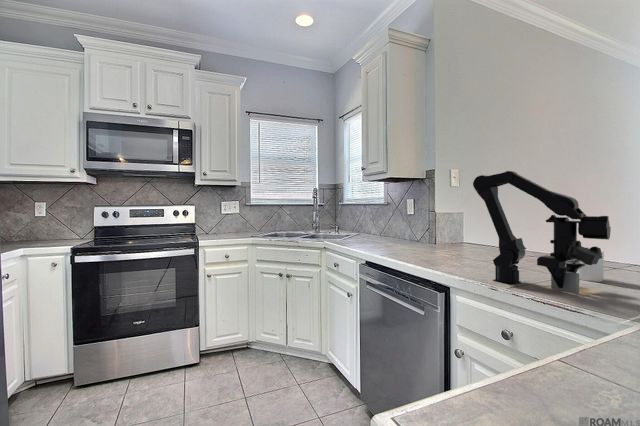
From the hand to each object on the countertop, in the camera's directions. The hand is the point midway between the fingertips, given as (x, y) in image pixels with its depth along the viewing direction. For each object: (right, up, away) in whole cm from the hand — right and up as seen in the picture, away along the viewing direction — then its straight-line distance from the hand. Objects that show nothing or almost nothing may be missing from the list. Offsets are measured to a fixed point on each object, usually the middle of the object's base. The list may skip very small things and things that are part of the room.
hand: (564, 286), depth 99 cm
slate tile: (0, -1, 0) cm, 1 cm away
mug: (+20, -1, +16) cm, 25 cm away
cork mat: (+3, -2, +2) cm, 4 cm away
